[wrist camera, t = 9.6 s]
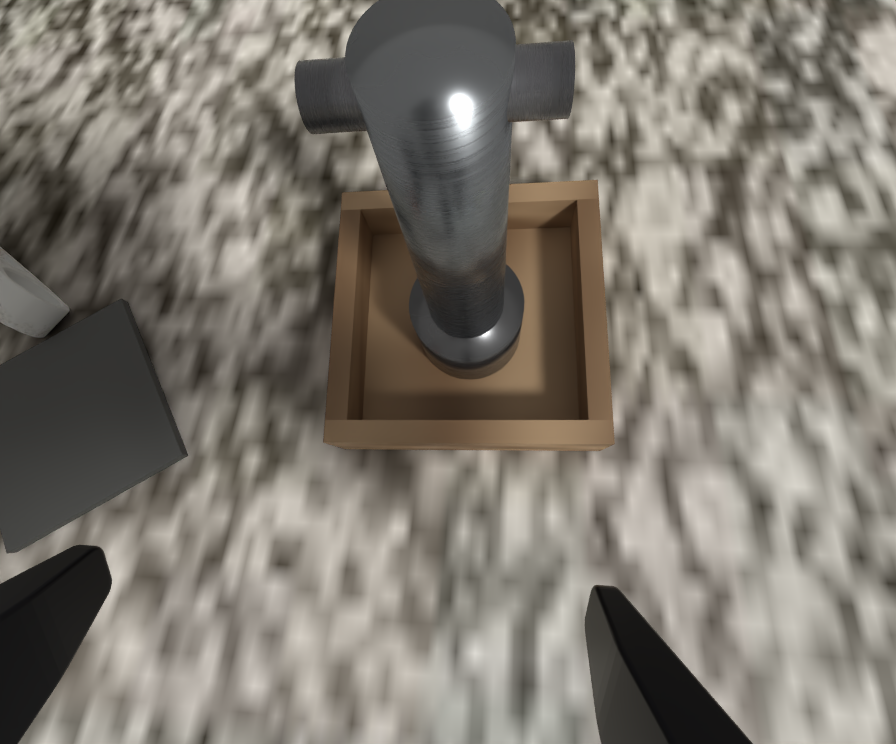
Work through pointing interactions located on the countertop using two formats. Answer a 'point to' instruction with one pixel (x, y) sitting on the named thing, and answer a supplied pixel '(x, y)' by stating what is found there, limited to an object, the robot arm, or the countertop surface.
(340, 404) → the tray
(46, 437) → the mat
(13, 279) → the wrench
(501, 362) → the chuck key
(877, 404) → the countertop surface
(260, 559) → the countertop surface
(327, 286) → the countertop surface
